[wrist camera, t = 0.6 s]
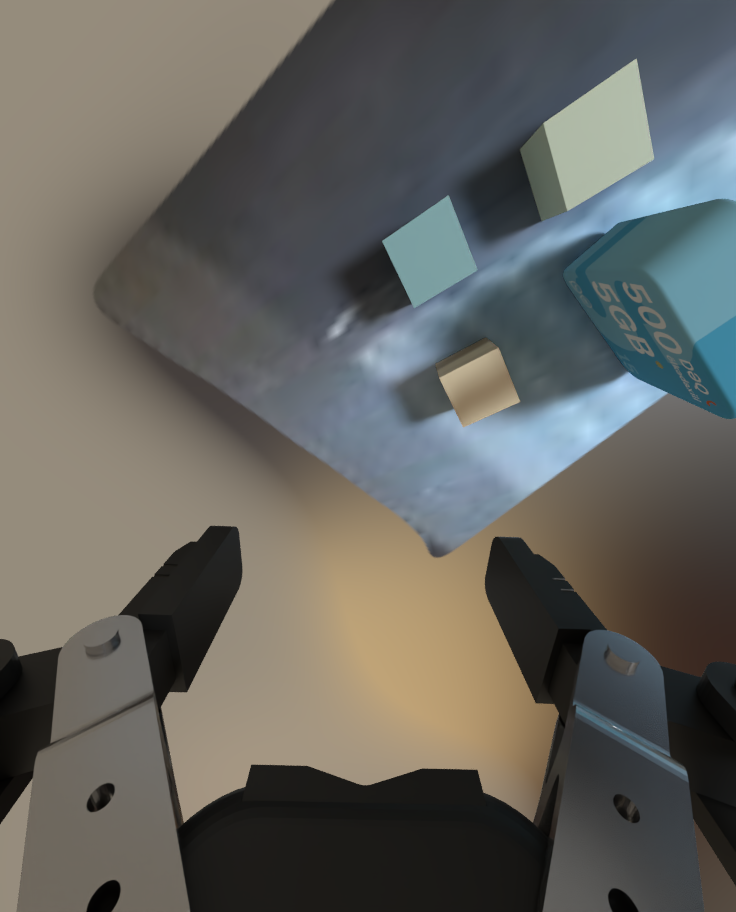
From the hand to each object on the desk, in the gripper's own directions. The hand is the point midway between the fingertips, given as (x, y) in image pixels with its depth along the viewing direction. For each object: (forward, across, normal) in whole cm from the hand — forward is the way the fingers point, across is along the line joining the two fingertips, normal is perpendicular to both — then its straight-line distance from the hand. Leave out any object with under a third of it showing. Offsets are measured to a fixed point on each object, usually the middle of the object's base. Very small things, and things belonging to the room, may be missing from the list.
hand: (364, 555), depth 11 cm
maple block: (+24, -10, -4) cm, 26 cm away
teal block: (+23, -5, -13) cm, 27 cm away
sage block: (+21, -14, -19) cm, 32 cm away
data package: (+22, -21, -10) cm, 32 cm away
